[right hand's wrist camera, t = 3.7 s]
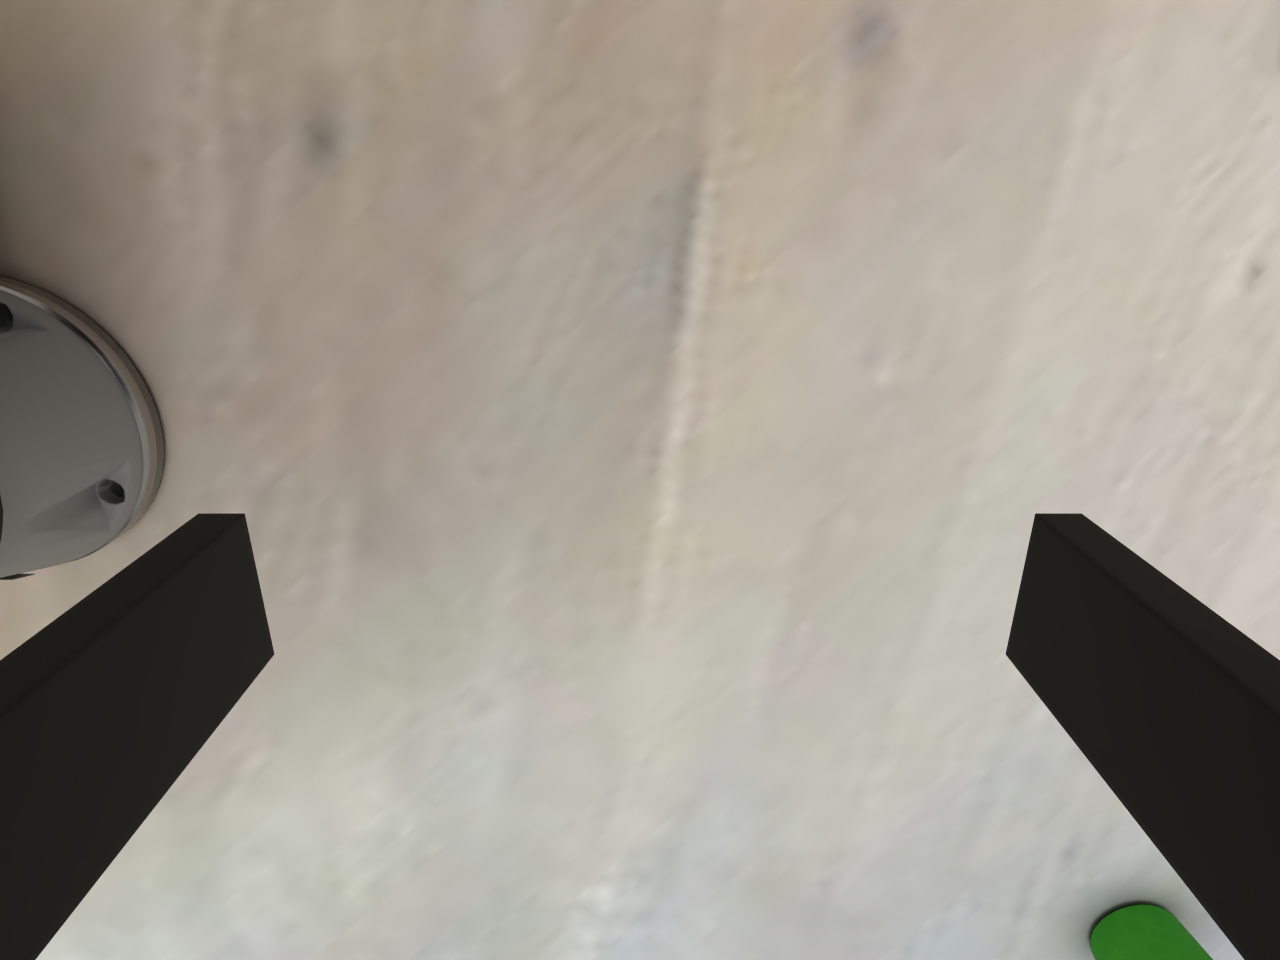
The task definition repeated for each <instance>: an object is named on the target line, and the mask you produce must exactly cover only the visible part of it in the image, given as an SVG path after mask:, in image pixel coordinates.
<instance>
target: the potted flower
mask: <svg viewBox="0 0 1280 960" xmlns="http://www.w3.org/2000/svg"><path fill="white" fill-rule="evenodd" d="M1090 946H1091V950H1092V953H1093V955H1094V957H1095V959H1096V960H1213V959H1212V958H1211V957H1210V956H1209V955H1208V954H1207V952H1206V951H1205V950H1204V949H1203V948H1202V947H1201V946H1200V945H1199V943H1198V942H1197V941H1196V940H1195V939H1194V938H1193V937H1192V935H1191V934H1190V933H1189V932H1188V931H1187V930H1186V929H1185V928H1184V926H1183V925H1182V924H1181V923H1180V922H1179V921H1178V920H1177V918H1176V917H1175V916H1174V915H1173V914H1171V913H1170V912H1168V911H1167V910H1165V909H1163V908H1160V907H1158V906H1153V905H1133V906H1129V907H1125V908H1122V909H1119V910H1117V911H1114V912H1113V913H1111V914H1109V915H1107V916H1106V917H1105V918H1103V919H1102V920H1101V921H1100V922H1099V923H1098V924H1097V925H1096V927H1095V928H1094V930H1093V932H1092V935H1091V940H1090Z"/></svg>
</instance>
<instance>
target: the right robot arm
mask: <svg viewBox="0 0 1280 960" xmlns="http://www.w3.org/2000/svg"><path fill="white" fill-rule="evenodd" d="M163 463H164V443H163V434H162V429H161V424H160V420H159V416H158V413H157V410H156V407H155V404H154V402H153V400H152V397H151V395H150V393H149V390H148V389H147V387H146V385H145V383H144V381H143V379H142V377H141V376H140V374H139V373H138V371H137V370H136V368H135V367H134V365H133V363H132V362H131V361H130V360H129V358H128V357H127V356H126V354H125V353H124V352H123V351H122V349H121V348H120V347H119V346H118V345H117V344H116V343H115V342H114V340H113V339H112V338H111V337H110V336H109V335H108V334H106V333H105V332H104V331H103V330H102V329H101V328H100V327H99V326H98V325H97V324H95V323H94V322H93V321H92V320H91V319H89V318H88V317H87V316H86V315H84V314H83V313H81V312H80V311H79V310H77V309H76V308H74V307H73V306H71V305H70V304H68V303H66V302H65V301H63V300H61V299H59V298H58V297H56V296H54V295H52V294H50V293H48V292H46V291H44V290H42V289H39V288H37V287H34V286H31V285H29V284H26V283H23V282H20V281H17V280H13V279H10V278H5V277H1V276H0V580H13V579H17V578H21V577H26V576H30V575H34V574H19V573H24V572H28V571H33V570H37V569H42V568H46V567H51V566H55V565H60V564H63V563H67V562H71V561H74V560H78V559H80V558H83V557H85V556H88V555H90V554H92V553H94V552H96V551H98V550H100V549H101V548H103V547H104V546H105V545H107V544H108V543H110V542H111V541H113V540H114V539H116V538H117V537H119V536H120V535H122V534H123V533H125V532H126V531H128V530H129V529H130V528H131V527H132V526H133V525H135V524H136V523H137V522H138V521H139V520H140V518H141V517H142V516H143V515H144V514H145V512H146V511H147V509H148V508H149V506H150V505H151V503H152V501H153V499H154V497H155V495H156V493H157V490H158V487H159V485H160V481H161V477H162V472H163ZM273 655H274V651H273V646H272V641H271V636H270V632H269V627H268V622H267V617H266V613H265V608H264V603H263V598H262V594H261V589H260V584H259V579H258V575H257V570H256V565H255V561H254V556H253V551H252V546H251V542H250V537H249V532H248V527H247V523H246V518H245V514H197V515H196V516H195V517H193V518H192V519H191V520H189V521H188V522H187V523H185V524H184V525H183V526H181V527H180V528H178V529H177V530H176V531H174V532H173V533H172V534H170V535H169V536H168V537H166V538H165V539H164V540H162V541H161V542H160V543H158V544H157V545H156V546H154V547H153V548H151V549H150V550H149V551H147V552H146V553H145V554H143V555H142V556H141V557H139V558H138V559H137V560H135V561H134V562H133V563H131V564H130V565H129V566H127V567H126V568H124V569H123V570H122V571H120V572H119V573H118V574H116V575H115V576H114V577H112V578H111V579H110V580H108V581H107V582H106V583H104V584H103V585H102V586H100V587H99V588H97V589H96V590H95V591H93V592H92V593H91V594H89V595H88V596H87V597H85V598H84V599H83V600H81V601H80V602H79V603H77V604H76V605H75V606H73V607H72V608H71V609H69V610H68V611H66V612H65V613H64V614H62V615H61V616H60V617H58V618H57V619H56V620H54V621H53V622H52V623H50V624H49V625H48V626H46V627H45V628H44V629H42V630H41V631H39V632H38V633H37V634H35V635H34V636H33V637H31V638H30V639H29V640H27V641H26V642H25V643H23V644H22V645H21V646H19V647H18V648H17V649H15V650H14V651H12V652H11V653H10V654H8V655H7V656H6V657H4V658H3V659H2V660H0V960H35V959H36V958H37V957H38V956H39V954H40V953H41V952H42V951H43V949H44V948H45V947H46V945H47V944H48V943H49V942H50V940H51V939H52V938H53V936H54V935H55V934H56V933H57V931H58V930H59V929H60V928H61V926H62V925H63V924H64V922H65V921H66V920H67V919H68V917H69V916H70V915H71V913H72V912H73V911H74V910H75V908H76V907H77V906H78V904H79V903H80V902H81V901H82V899H83V898H84V897H85V896H86V894H87V893H88V892H89V890H90V889H91V888H92V887H93V885H94V884H95V883H96V881H97V880H98V879H99V878H100V876H101V875H102V874H103V873H104V871H105V870H106V869H107V867H108V866H109V865H110V864H111V862H112V861H113V860H114V858H115V857H116V856H117V855H118V853H119V852H120V851H121V850H122V848H123V847H124V846H125V844H126V843H127V842H128V841H129V839H130V838H131V837H132V835H133V834H134V833H135V832H136V830H137V829H138V828H139V827H140V825H141V824H142V823H143V821H144V820H145V819H146V818H147V816H148V815H149V814H150V812H151V811H152V810H153V809H154V807H155V806H156V805H157V803H158V802H159V801H160V800H161V798H162V797H163V796H164V795H165V793H166V792H167V791H168V789H169V788H170V787H171V786H172V784H173V783H174V782H175V780H176V779H177V778H178V777H179V775H180V774H181V773H182V772H183V770H184V769H185V768H186V766H187V765H188V764H189V763H190V761H191V760H192V759H193V757H194V756H195V755H196V754H197V752H198V751H199V750H200V749H201V747H202V746H203V745H204V743H205V742H206V741H207V740H208V738H209V737H210V736H211V734H212V733H213V732H214V731H215V729H216V728H217V727H218V726H219V724H220V723H221V722H222V720H223V719H224V718H225V717H226V715H227V714H228V713H229V711H230V710H231V709H232V708H233V706H234V705H235V704H236V702H237V701H238V700H239V699H240V697H241V696H242V695H243V694H244V692H245V691H246V690H247V688H248V687H249V686H250V685H251V683H252V682H253V681H254V679H255V678H256V677H257V676H258V674H259V673H260V672H261V671H262V669H263V668H264V667H265V665H266V664H267V663H268V662H269V660H270V659H271V658H272V656H273ZM1006 655H1007V656H1008V658H1009V659H1010V660H1011V662H1012V663H1013V664H1014V665H1015V667H1016V668H1017V669H1018V671H1019V672H1020V673H1021V674H1022V676H1023V677H1024V678H1025V679H1026V681H1027V682H1028V683H1029V685H1030V686H1031V687H1032V688H1033V690H1034V691H1035V692H1036V694H1037V695H1038V696H1039V697H1040V699H1041V700H1042V701H1043V702H1044V704H1045V705H1046V706H1047V708H1048V709H1049V710H1050V711H1051V713H1052V714H1053V715H1054V717H1055V718H1056V719H1057V720H1058V722H1059V723H1060V724H1061V726H1062V727H1063V728H1064V729H1065V731H1066V732H1067V733H1068V734H1069V736H1070V737H1071V738H1072V740H1073V741H1074V742H1075V743H1076V745H1077V746H1078V747H1079V749H1080V750H1081V751H1082V752H1083V754H1084V755H1085V756H1086V757H1087V759H1088V760H1089V761H1090V763H1091V764H1092V765H1093V766H1094V768H1095V769H1096V770H1097V772H1098V773H1099V774H1100V775H1101V777H1102V778H1103V779H1104V780H1105V782H1106V783H1107V784H1108V786H1109V787H1110V788H1111V789H1112V791H1113V792H1114V793H1115V795H1116V796H1117V797H1118V798H1119V800H1120V801H1121V802H1122V803H1123V805H1124V806H1125V807H1126V809H1127V810H1128V811H1129V812H1130V814H1131V815H1132V816H1133V818H1134V819H1135V820H1136V821H1137V823H1138V824H1139V825H1140V827H1141V828H1142V829H1143V830H1144V832H1145V833H1146V834H1147V835H1148V837H1149V838H1150V839H1151V841H1152V842H1153V843H1154V844H1155V846H1156V847H1157V848H1158V850H1159V851H1160V852H1161V853H1162V855H1163V856H1164V857H1165V858H1166V860H1167V861H1168V862H1169V864H1170V865H1171V866H1172V867H1173V869H1174V870H1175V871H1176V873H1177V874H1178V875H1179V876H1180V878H1181V879H1182V880H1183V881H1184V883H1185V884H1186V885H1187V887H1188V888H1189V889H1190V890H1191V892H1192V893H1193V894H1194V896H1195V897H1196V898H1197V899H1198V901H1199V902H1200V903H1201V904H1202V906H1203V907H1204V908H1205V910H1206V911H1207V912H1208V913H1209V915H1210V916H1211V917H1212V919H1213V920H1214V921H1215V922H1216V924H1217V925H1218V926H1219V928H1220V929H1221V930H1222V931H1223V933H1224V934H1225V935H1226V936H1227V938H1228V939H1229V940H1230V942H1231V943H1232V944H1233V945H1234V947H1235V948H1236V949H1237V951H1238V952H1239V953H1240V954H1241V956H1242V957H1243V958H1244V959H1245V960H1280V660H1278V659H1277V658H1276V657H1274V656H1273V655H1272V654H1270V653H1269V652H1268V651H1266V650H1265V649H1263V648H1262V647H1261V646H1259V645H1258V644H1257V643H1255V642H1254V641H1253V640H1251V639H1250V638H1249V637H1247V636H1246V635H1245V634H1243V633H1242V632H1241V631H1239V630H1238V629H1236V628H1235V627H1234V626H1232V625H1231V624H1230V623H1228V622H1227V621H1226V620H1224V619H1223V618H1222V617H1220V616H1219V615H1218V614H1216V613H1215V612H1214V611H1212V610H1211V609H1209V608H1208V607H1207V606H1205V605H1204V604H1203V603H1201V602H1200V601H1199V600H1197V599H1196V598H1195V597H1193V596H1192V595H1191V594H1189V593H1188V592H1187V591H1185V590H1184V589H1183V588H1181V587H1180V586H1178V585H1177V584H1176V583H1174V582H1173V581H1172V580H1170V579H1169V578H1168V577H1166V576H1165V575H1164V574H1162V573H1161V572H1160V571H1158V570H1157V569H1156V568H1154V567H1153V566H1151V565H1150V564H1149V563H1147V562H1146V561H1145V560H1143V559H1142V558H1141V557H1139V556H1138V555H1137V554H1135V553H1134V552H1133V551H1131V550H1130V549H1129V548H1127V547H1126V546H1124V545H1123V544H1122V543H1120V542H1119V541H1118V540H1116V539H1115V538H1114V537H1112V536H1111V535H1110V534H1108V533H1107V532H1106V531H1104V530H1103V529H1102V528H1100V527H1099V526H1097V525H1096V524H1095V523H1093V522H1092V521H1091V520H1089V519H1088V518H1087V517H1085V516H1084V515H1083V514H1035V518H1034V523H1033V527H1032V532H1031V537H1030V542H1029V546H1028V551H1027V556H1026V561H1025V565H1024V570H1023V575H1022V579H1021V584H1020V589H1019V594H1018V598H1017V603H1016V608H1015V613H1014V617H1013V622H1012V627H1011V632H1010V636H1009V641H1008V646H1007V651H1006Z"/></svg>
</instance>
